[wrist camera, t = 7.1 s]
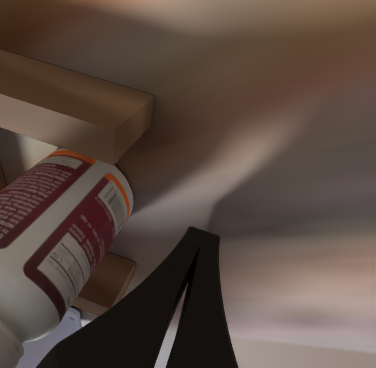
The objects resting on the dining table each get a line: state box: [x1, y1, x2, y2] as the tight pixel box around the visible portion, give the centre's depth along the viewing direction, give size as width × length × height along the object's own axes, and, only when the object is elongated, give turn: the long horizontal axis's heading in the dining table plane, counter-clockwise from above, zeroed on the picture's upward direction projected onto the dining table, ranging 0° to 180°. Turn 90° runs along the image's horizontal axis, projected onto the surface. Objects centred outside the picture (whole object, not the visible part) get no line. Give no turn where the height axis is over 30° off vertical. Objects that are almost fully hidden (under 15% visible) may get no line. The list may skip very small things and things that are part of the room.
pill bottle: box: [0, 148, 133, 368], centre depth 11 cm, size 5×5×8 cm
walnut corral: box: [0, 49, 154, 316], centre depth 13 cm, size 11×9×3 cm
